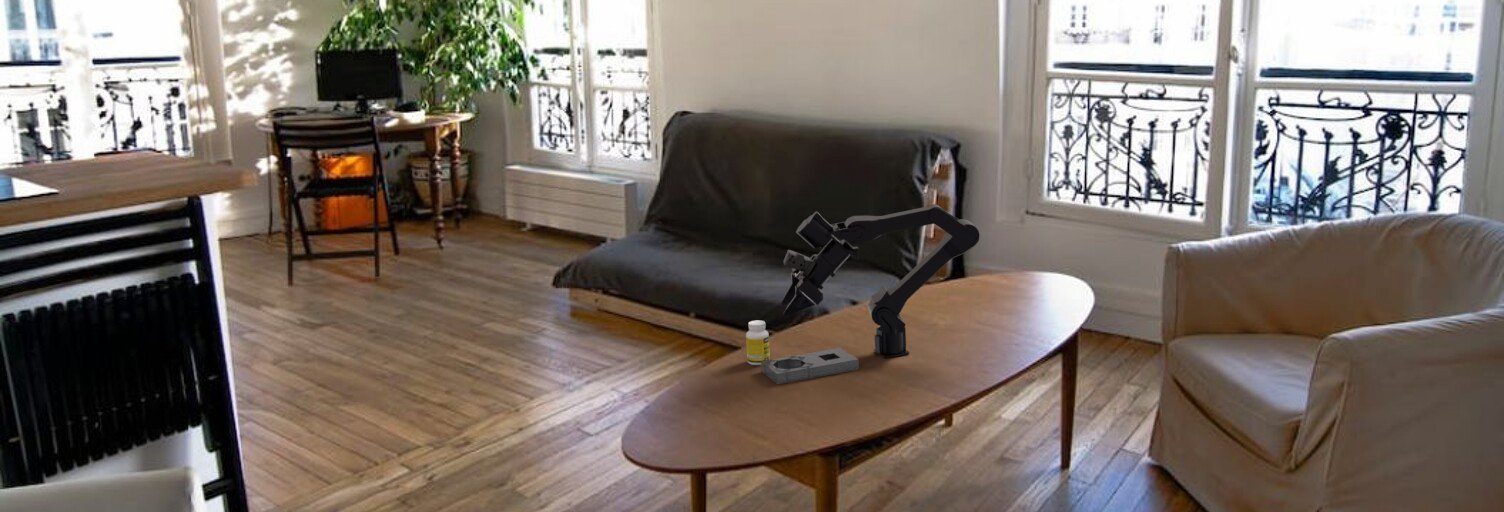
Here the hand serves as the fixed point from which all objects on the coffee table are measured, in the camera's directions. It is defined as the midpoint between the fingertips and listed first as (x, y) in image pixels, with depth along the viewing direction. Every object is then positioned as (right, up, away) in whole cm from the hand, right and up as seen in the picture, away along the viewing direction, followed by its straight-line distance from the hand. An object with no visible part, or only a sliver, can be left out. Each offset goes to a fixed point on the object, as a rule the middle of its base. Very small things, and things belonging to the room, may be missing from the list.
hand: (783, 309), depth 277 cm
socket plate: (+6, -14, -6) cm, 16 cm away
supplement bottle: (-6, -13, +3) cm, 14 cm away
